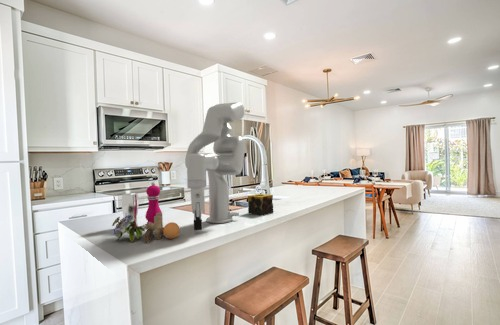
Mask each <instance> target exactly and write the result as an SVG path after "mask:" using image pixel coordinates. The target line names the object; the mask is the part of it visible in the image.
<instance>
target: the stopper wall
mask: <svg viewBox="0 0 500 325" xmlns="http://www.w3.org/2000/svg"><path fill="white" fill-rule="evenodd" d="M154 234H155V233H154V231H153V230H151V229H147V230H146V231H144V234H143V244H149V243H150V241H151V239H152V237H153V235H154Z"/></svg>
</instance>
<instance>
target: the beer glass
mask: <svg viewBox="0 0 500 325" xmlns="http://www.w3.org/2000/svg"><path fill="white" fill-rule="evenodd" d="M120 204H121V211H122V214H123V218H125V217H126V216H128V215H131V214H132V213H133V212H134V216H133V218H135V227H138V225H139V224H138V211H139V204H140V203H139V193H137V192H129V193H123V194H121V203H120ZM133 218H132V219H133ZM132 227H133V226H131V227H130V228H132Z"/></svg>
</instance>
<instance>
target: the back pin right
mask: <svg viewBox="0 0 500 325" xmlns="http://www.w3.org/2000/svg"><path fill="white" fill-rule="evenodd" d="M156 216H161V227H164V226H163V224H164V223H163V212H162V213H156ZM162 235H163V234H161V236H162Z"/></svg>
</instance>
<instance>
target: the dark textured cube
mask: <svg viewBox="0 0 500 325" xmlns="http://www.w3.org/2000/svg"><path fill="white" fill-rule="evenodd" d="M273 197H274V195H273V194H267V193H266V194H265V193H257V194H256V193H255V194H250V195H248V196H247V203H248V205H247V206H248V209H247V211H248V214H249V213H252V214H251V215H255V214H257V216H261V215H263V216H265V215H264V214H267V215H269V214H268V213H270V214H273V213H272V212H274V203H273Z"/></svg>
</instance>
